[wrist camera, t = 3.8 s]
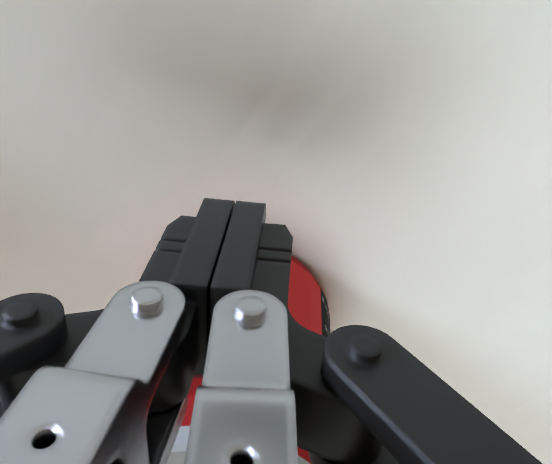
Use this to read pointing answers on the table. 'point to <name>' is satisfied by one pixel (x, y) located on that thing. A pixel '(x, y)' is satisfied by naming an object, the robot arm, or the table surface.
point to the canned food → (305, 310)
